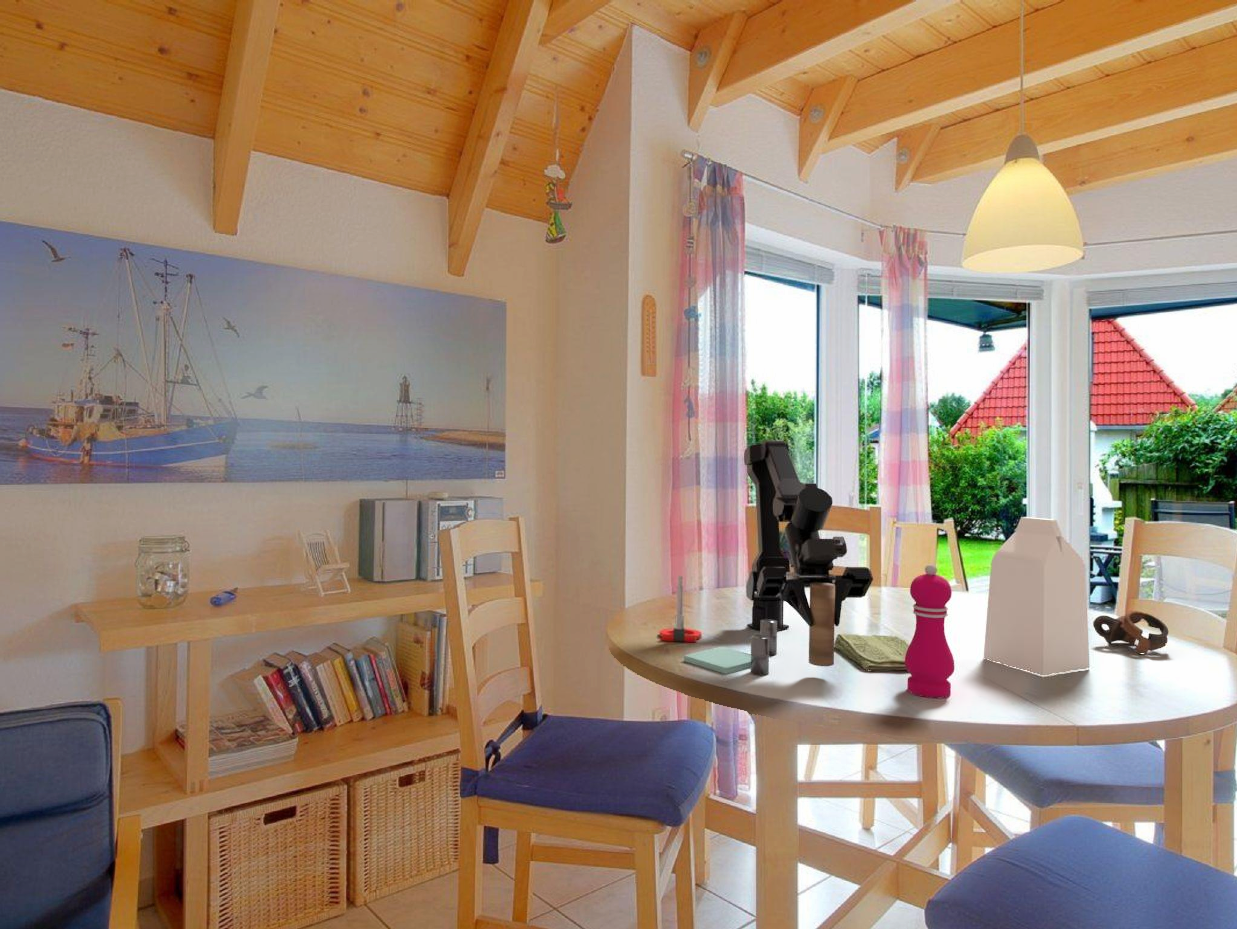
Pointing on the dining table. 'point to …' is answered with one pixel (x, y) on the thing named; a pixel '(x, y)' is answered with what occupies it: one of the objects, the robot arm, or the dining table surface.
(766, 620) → the post farther from pad
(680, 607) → the tow hook
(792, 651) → the dining table surface
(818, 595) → the walnut dowel
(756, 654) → the post near pad
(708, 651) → the teal pad
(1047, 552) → the milk
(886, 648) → the washcloth
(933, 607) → the pepper mill
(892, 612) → the dining table surface
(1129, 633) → the brown ring bracket
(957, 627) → the dining table surface
